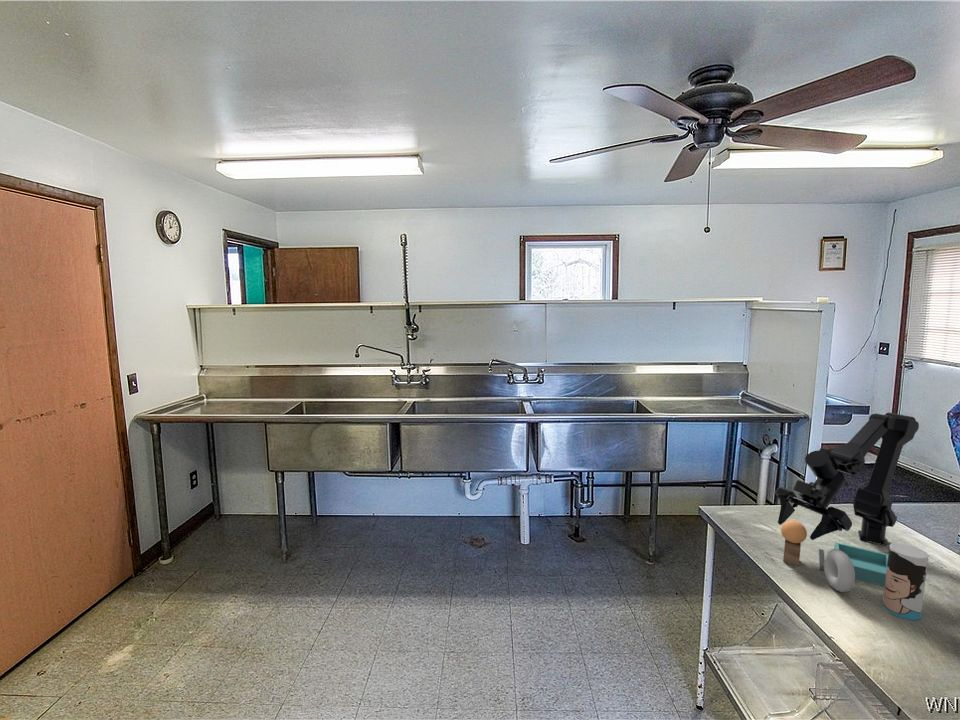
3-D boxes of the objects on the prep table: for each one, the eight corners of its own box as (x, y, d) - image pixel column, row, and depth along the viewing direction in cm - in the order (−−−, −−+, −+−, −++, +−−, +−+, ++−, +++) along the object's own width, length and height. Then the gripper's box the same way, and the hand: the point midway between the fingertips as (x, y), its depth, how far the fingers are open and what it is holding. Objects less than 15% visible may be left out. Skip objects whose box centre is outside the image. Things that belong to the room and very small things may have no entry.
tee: (783, 556, 136) (785, 536, 135) (799, 559, 134) (800, 540, 133) (783, 561, 133) (785, 541, 132) (798, 565, 131) (800, 545, 130)
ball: (780, 534, 137) (782, 514, 136) (806, 540, 133) (807, 520, 132) (779, 543, 132) (781, 522, 131) (805, 549, 128) (807, 528, 128)
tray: (833, 552, 138) (834, 541, 137) (888, 565, 131) (889, 554, 131) (835, 573, 127) (836, 561, 127) (894, 588, 120) (896, 576, 120)
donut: (856, 602, 115) (860, 563, 114) (840, 600, 116) (844, 561, 114) (834, 578, 125) (838, 542, 123) (819, 577, 125) (823, 541, 124)
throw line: (819, 549, 139) (819, 548, 139) (823, 550, 139) (823, 549, 139) (819, 569, 129) (819, 569, 129) (824, 571, 128) (824, 570, 128)
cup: (884, 598, 116) (891, 540, 115) (922, 611, 112) (929, 550, 110) (880, 610, 112) (887, 550, 110) (919, 624, 107) (927, 561, 105)
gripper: (782, 460, 141) (751, 501, 138) (849, 482, 123) (816, 529, 121) (798, 482, 144) (768, 522, 142) (866, 507, 127) (833, 553, 124)
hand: (794, 531), depth 132 cm, fingers open, 9 cm apart
